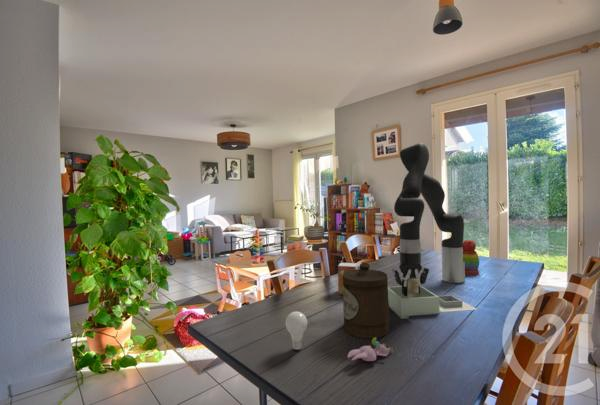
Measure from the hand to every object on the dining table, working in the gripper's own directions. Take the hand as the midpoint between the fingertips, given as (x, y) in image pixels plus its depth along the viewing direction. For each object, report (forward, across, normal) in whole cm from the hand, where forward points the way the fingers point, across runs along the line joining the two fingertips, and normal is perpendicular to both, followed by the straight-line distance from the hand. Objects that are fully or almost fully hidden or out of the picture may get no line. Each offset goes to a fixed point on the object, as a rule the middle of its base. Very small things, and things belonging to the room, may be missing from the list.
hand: (411, 295), depth 112 cm
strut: (+3, 0, 0) cm, 3 cm away
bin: (+6, 0, 0) cm, 6 cm away
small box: (+6, +18, -23) cm, 30 cm away
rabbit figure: (+6, +26, +30) cm, 40 cm away
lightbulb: (+6, +46, +22) cm, 51 cm away
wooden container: (+6, +22, +12) cm, 25 cm away
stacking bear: (+6, -54, -43) cm, 69 cm away
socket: (+6, -16, -1) cm, 17 cm away
